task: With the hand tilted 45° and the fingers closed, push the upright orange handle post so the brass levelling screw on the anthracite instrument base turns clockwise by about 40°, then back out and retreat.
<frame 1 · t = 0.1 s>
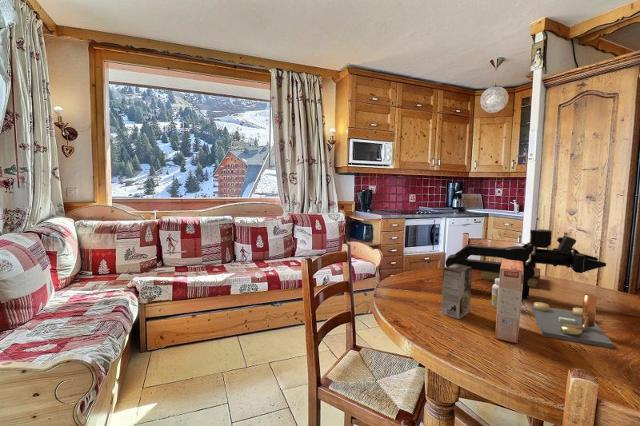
hand: (601, 261, 119), 17 cm above the table, tool horizontal, fingers open, 9 cm apart
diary: (509, 280, 154), on the table
cracker box: (507, 333, 98), on the table
screw handle: (579, 313, 96), point 6 cm above the table, hinge at 0.0°
coffee box: (455, 313, 113), on the table
instrument base: (566, 325, 103), on the table
supplement bottle: (499, 306, 120), on the table
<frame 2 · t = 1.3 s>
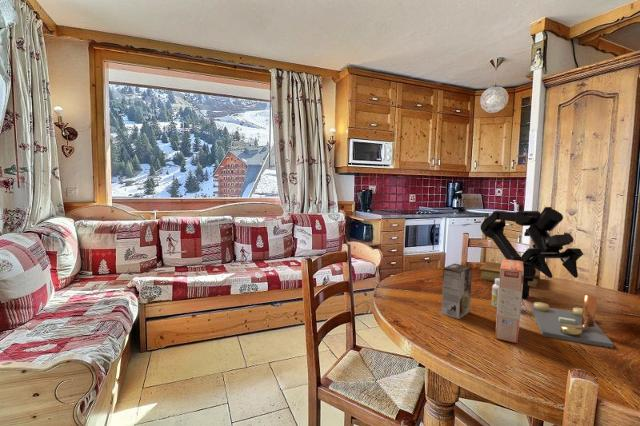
hand: (564, 277, 108), 14 cm above the table, tool tilted 45°, fingers open, 8 cm apart
nothing on the table moved.
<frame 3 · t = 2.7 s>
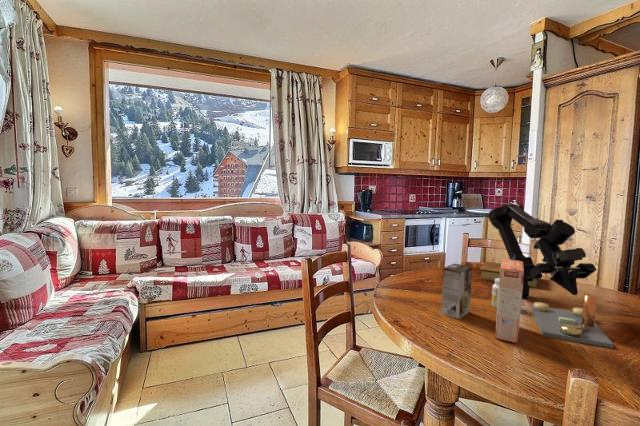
hand: (575, 294, 103), 10 cm above the table, tool tilted 45°, fingers closed
nothing on the table moved.
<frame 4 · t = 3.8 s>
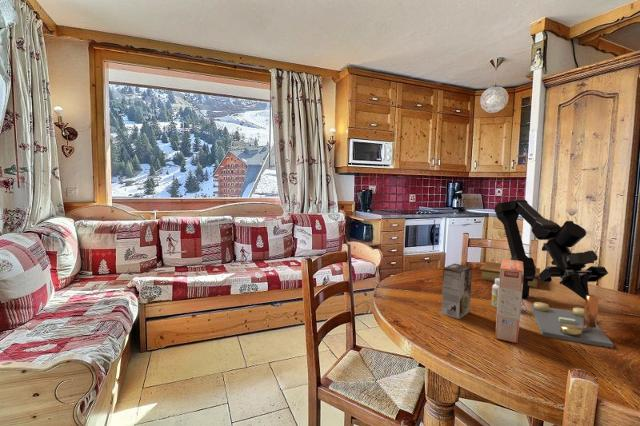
hand: (587, 299, 99), 10 cm above the table, tool tilted 45°, fingers closed, pressing on screw handle
screw handle: (579, 314, 96), point 6 cm above the table, hinge at 3.3°, touching gripper
everything else where it was.
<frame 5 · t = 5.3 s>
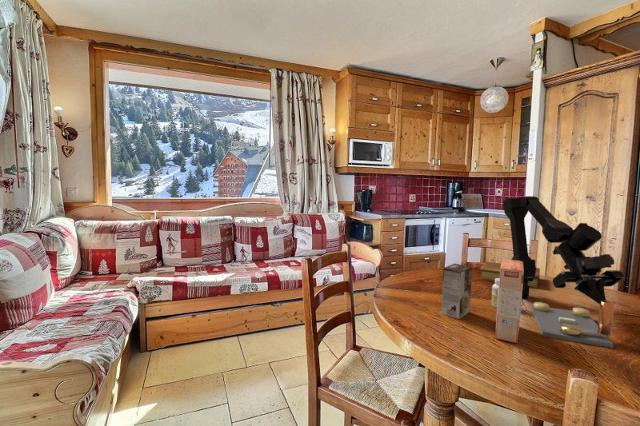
hand: (604, 305, 94), 10 cm above the table, tool tilted 45°, fingers closed, pressing on screw handle
screw handle: (585, 317, 94), point 6 cm above the table, hinge at 39.8°, touching gripper
everything else where it was.
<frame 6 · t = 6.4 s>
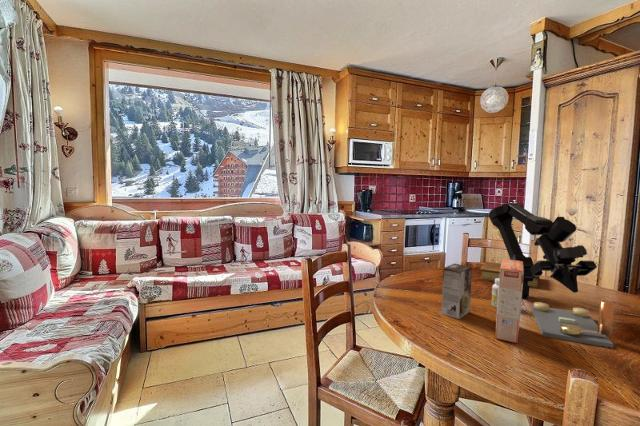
hand: (575, 292, 103), 11 cm above the table, tool tilted 45°, fingers closed
screw handle: (585, 317, 94), point 6 cm above the table, hinge at 39.9°
everything else where it was.
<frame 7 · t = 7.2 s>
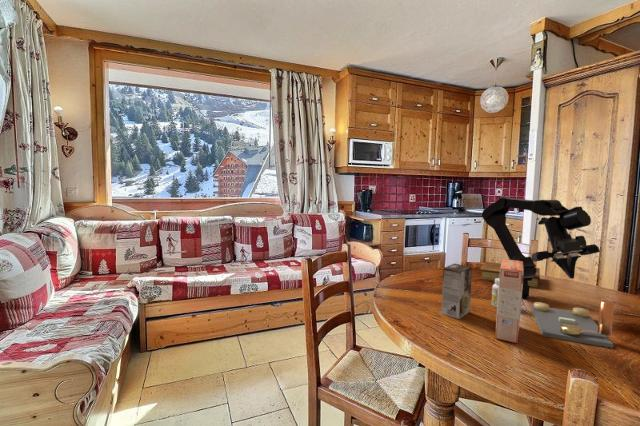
hand: (572, 278, 111), 13 cm above the table, tool tilted 25°, fingers closed
nothing on the table moved.
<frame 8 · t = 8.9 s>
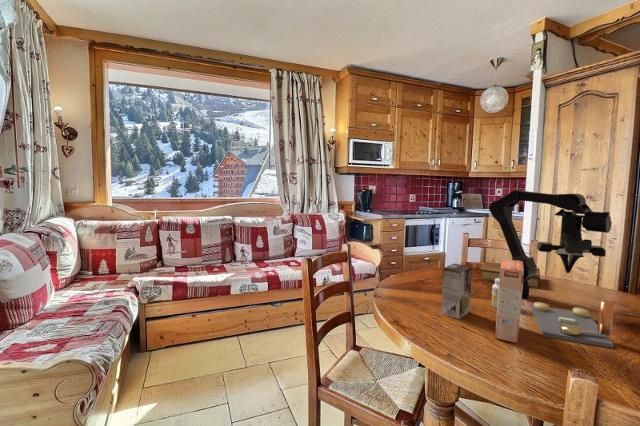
hand: (567, 272, 117), 13 cm above the table, tool pointing down, fingers closed
nothing on the table moved.
at the end: screw handle at +40° (first picture: +0°); screw handle touching nothing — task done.
